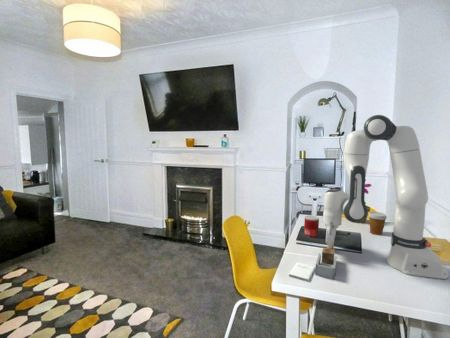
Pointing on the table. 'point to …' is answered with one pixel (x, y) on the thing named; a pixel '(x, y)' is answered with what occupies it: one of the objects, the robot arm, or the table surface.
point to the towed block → (328, 255)
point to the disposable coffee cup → (377, 222)
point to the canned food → (311, 226)
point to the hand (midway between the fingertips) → (330, 245)
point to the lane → (325, 269)
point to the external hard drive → (302, 271)
